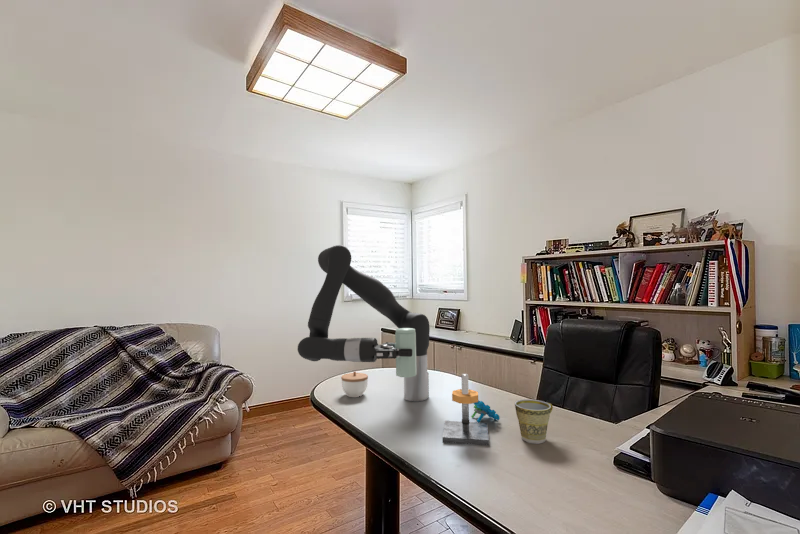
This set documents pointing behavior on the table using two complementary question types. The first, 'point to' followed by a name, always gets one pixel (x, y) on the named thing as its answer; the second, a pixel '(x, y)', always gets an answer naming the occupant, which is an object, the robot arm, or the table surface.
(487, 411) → the blue toy dinosaur
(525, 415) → the ceramic cup
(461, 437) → the post stand
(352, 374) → the lidded jar
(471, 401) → the collar
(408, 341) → the pale green canister
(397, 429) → the table surface
